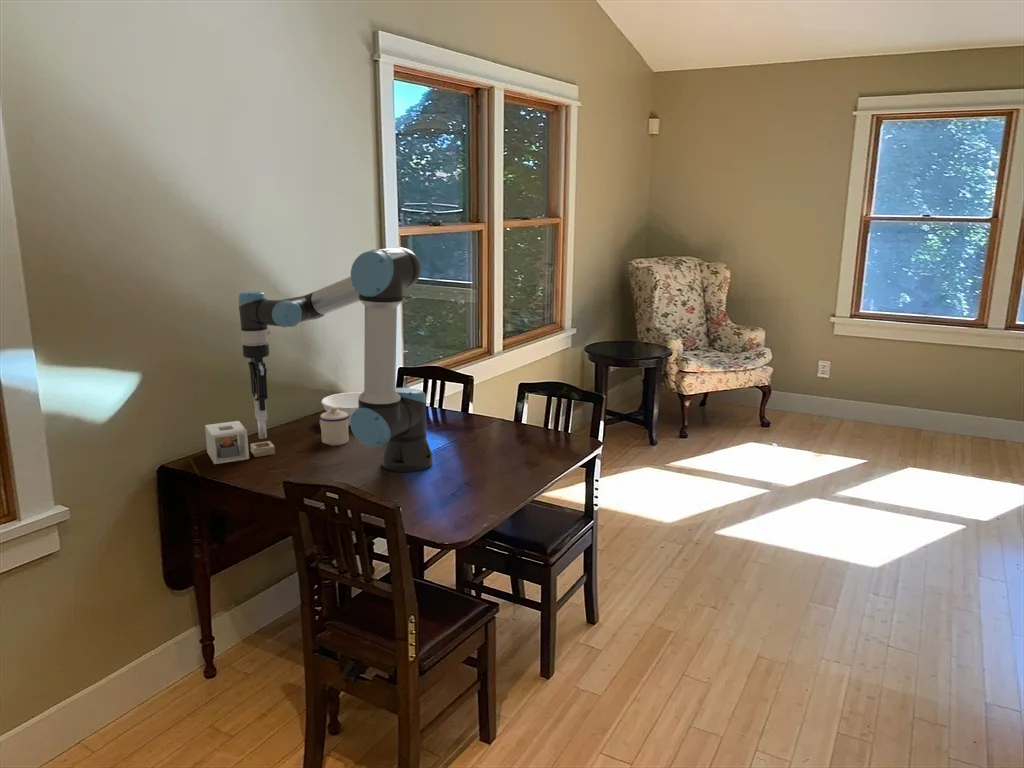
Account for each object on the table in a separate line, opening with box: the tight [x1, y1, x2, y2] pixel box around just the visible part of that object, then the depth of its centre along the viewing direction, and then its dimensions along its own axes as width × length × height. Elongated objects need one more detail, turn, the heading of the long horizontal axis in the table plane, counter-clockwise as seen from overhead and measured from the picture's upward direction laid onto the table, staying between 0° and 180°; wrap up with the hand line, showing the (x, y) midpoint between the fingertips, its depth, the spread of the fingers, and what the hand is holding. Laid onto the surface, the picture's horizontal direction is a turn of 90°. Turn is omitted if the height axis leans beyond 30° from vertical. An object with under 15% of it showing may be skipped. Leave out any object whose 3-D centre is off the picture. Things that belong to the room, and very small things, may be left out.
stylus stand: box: [250, 440, 276, 458], centre depth 244 cm, size 6×6×3 cm
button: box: [220, 435, 233, 447], centre depth 239 cm, size 3×3×4 cm
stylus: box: [254, 393, 268, 440], centre depth 241 cm, size 2×2×14 cm
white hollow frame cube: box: [204, 420, 250, 465], centre depth 240 cm, size 12×10×9 cm
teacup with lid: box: [319, 407, 350, 447], centre depth 256 cm, size 12×9×12 cm
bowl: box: [321, 391, 362, 426], centre depth 278 cm, size 21×21×8 cm
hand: (261, 418), depth 241 cm, fingers closed on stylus, 2 cm apart
